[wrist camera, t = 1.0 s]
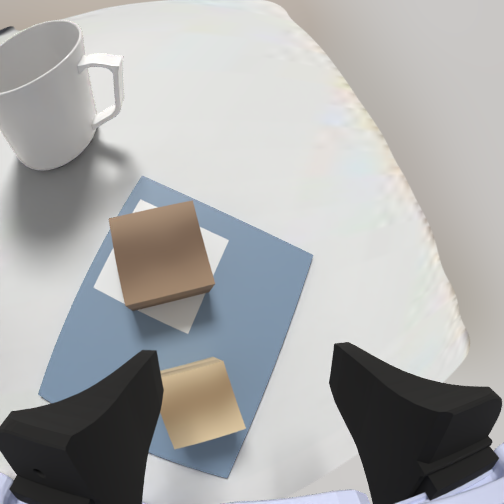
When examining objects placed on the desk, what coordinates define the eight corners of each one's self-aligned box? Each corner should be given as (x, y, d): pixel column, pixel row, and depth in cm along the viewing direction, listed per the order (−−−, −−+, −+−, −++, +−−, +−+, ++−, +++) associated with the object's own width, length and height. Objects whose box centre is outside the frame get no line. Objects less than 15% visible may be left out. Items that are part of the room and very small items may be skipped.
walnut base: (209, 292, 23) (215, 283, 20) (132, 311, 21) (125, 305, 18) (189, 219, 24) (192, 200, 21) (116, 235, 23) (108, 218, 19)
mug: (8, 177, 22) (-43, 103, 11) (36, 106, 24) (9, 29, 14) (120, 178, 24) (100, 85, 14) (138, 103, 27) (136, 12, 17)
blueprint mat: (226, 476, 20) (227, 478, 19) (40, 393, 18) (37, 394, 17) (311, 256, 27) (313, 255, 26) (142, 177, 25) (142, 175, 24)
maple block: (231, 411, 21) (245, 428, 16) (173, 427, 20) (174, 449, 15) (212, 356, 22) (223, 360, 17) (154, 372, 21) (149, 380, 16)
